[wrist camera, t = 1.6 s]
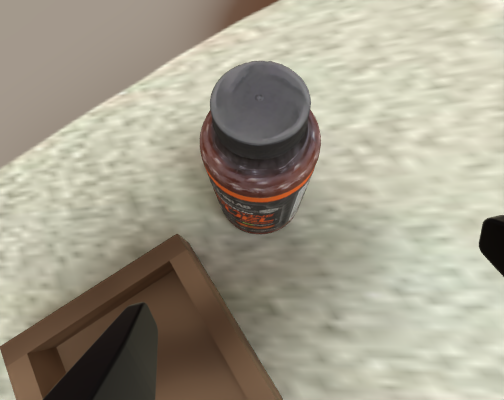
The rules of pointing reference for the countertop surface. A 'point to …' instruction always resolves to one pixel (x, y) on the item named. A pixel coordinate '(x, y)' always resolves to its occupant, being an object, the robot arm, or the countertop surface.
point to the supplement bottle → (260, 144)
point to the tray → (169, 333)
